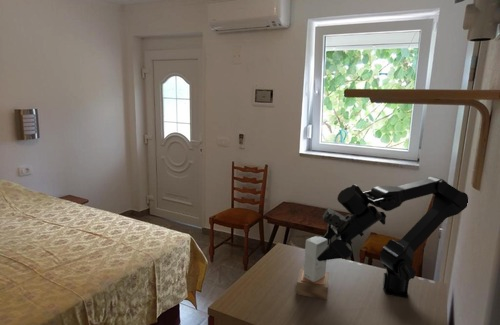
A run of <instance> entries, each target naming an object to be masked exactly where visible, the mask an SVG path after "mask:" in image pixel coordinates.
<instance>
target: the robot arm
mask: <svg viewBox="0 0 500 325" xmlns="http://www.w3.org/2000/svg"><path fill="white" fill-rule="evenodd" d="M431 194H432V195H433V196H434V197H433V199H432V203H431V204H432V205H431V208H429V209H428V211H427V212H426V213H424V215H423V216H422V217H421V218H420V219H419V220H418V221H417V222H416V223H415V224H414V225H413V226H412V228H410V230H408V232H407V233H406V234H405V235H404V236H403V237H402V238H401V239H399V240H394V239H389V240H388V241H387V243H386V244H385V245H384V246H382V247H381V251H380V252H379V260H380V262H381V265H382V267H383V268H385V269H386V270H385V272H384V273H383V278H382V288H383V289H384V292H385V294H387V295H391V296H398V297H404V298H409V284H410V281H411V279H414V278H415V276H416V274H417V271H416V270H415V269H414V268H413V266H412V265H411V264H413V262H414V257H415V253H416V251H417V250H418V248H420V246H422V244H423V243H425V241H427V239H428V238H429V237H430V236H431V235H432V234H433V232H434V231H436V230H437V229H438V228H439V227H440V225H441V224H442V223H444V221H446V219H447V218H451V217H453V216H456V215H459V214H460V213H461V212H463V211H464V210H465V209H466V208H467V207H468V206H467V203H468V199H469V196H468V194H467V193H466V192H463V191H462V190H461V191H460V190H459V189H457V188H455V187H454V186H452V184H449V183H448V182H447V181H445V180H444V179H443V178H439V177H436V176H428V177H427V178H425V179H420V180H417V181H412V182H408V183H406V184H402V185H397V186H396V185H395V186H393V185H392V186H391V185H380V186H374V187H373V188H371V190H366V191H364V192H363V191H362V189H361V188H360V186H358V185H357V184H352V185H351V186H349V187H346V188H344V189H343V190H340V192H339V194H338V195H337V198H336V200H337V201H338V203H339V204H340V205H341V206H342V207H343V208H344V209H345V210H346V211H347V212H348V213H350V214H346V215H342V214H341V213H340V212H337V211H336V210H333V209H332V208H330V207H327V208H326V210H325V211H324V213H323V214H322V221H323V222H324V223H326V224H327V231H326V233H324V235H323V238H326V239H328V245H327V248H326V249H325V250H324V251H323V252H322V253H321V254H320V255H319V256H318V257H317V260H318V261H324V260H326V261H331V260H339V259H342V260H345V261H346V260H348V259H350V258H351V257H352V255H353V250H352V246H351V245H352V244H353V242H354V241H353V240H354V239H356V238H357V237H358V236H360V237H363V236H364V235H365V233H364V232H365V231H367V230H368V229H369V228H371V227H373V225H375V224H376V223H378V222H380V223H381V224H382V225H386V218H387V214H386V213H385V212H390V211H393V210H395V209H397V208H399V207H400V206H402V204H403V203H404V202H406V201H410V200H414V199H419V198H421V197H425V196H429V195H431ZM369 204H371V205H369ZM377 208H379V209H380V210H383V211H379V210H378V209H377Z"/></svg>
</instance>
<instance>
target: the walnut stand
mask: <svg viewBox="0 0 500 325" xmlns="http://www.w3.org/2000/svg"><path fill="white" fill-rule="evenodd" d="M299 269H300V270H299V273H298V277H297V281H296V290H295V291H296V295H299V296H304V297H309V298H315V299H322V300H326V301H327V300H328V289H329V280H330V272H329V271H326V273H325V276H324V277H323V278H321V279H319V280H317V281H315V282H312V281H310V280H308V279H306V278H305V277H304V276H303V275H304V267H300V268H299Z"/></svg>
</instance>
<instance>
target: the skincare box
mask: <svg viewBox="0 0 500 325" xmlns="http://www.w3.org/2000/svg"><path fill="white" fill-rule="evenodd" d="M328 246H329V245H328V239H326V238H323V237H322V236H319V235H315V236H312V237H310V238H307V239H306V240H305V247H304V248H305V250H304V262H303V263H304V264H303V265H304V266H303V268H304V275H303V276H304V277H305V278H306V279H308V280H310V281H312V282H315V281H317V280H319V279H321V278H323V277H324V276H325V273H326V272H327V271H326V270H327V260H324V261H318V260H317V257H318V256H319V255H320V254H321V253H322V252H323V251H324V250H325V249H326V248H327V247H328Z"/></svg>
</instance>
